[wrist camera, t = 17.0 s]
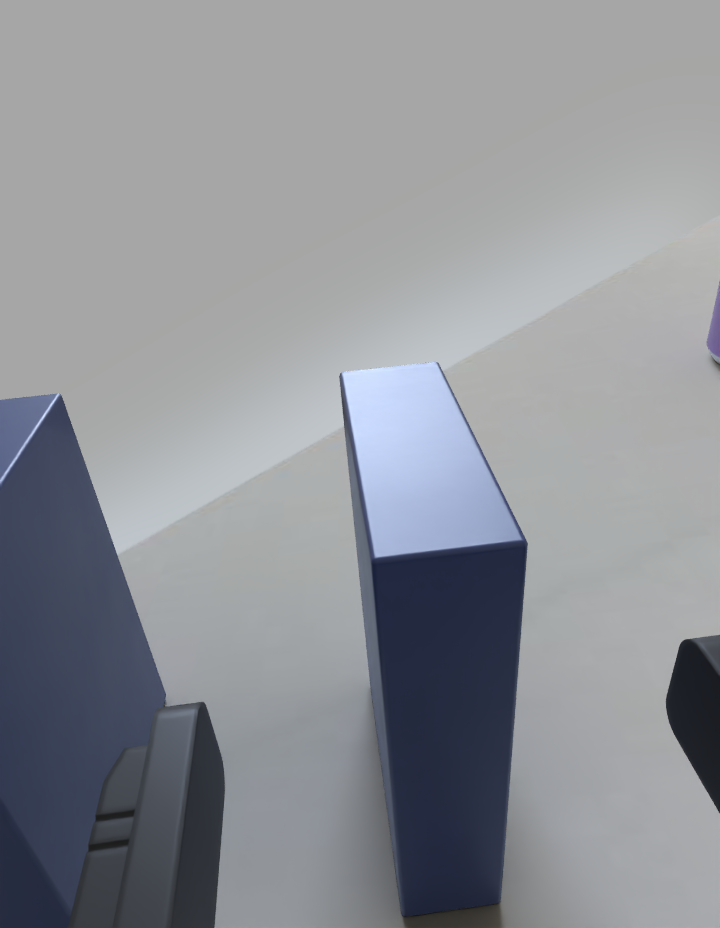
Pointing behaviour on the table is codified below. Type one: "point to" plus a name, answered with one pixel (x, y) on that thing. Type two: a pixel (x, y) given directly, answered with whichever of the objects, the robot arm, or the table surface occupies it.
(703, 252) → the table surface
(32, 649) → the navy books
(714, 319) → the beverage can
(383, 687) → the navy book
